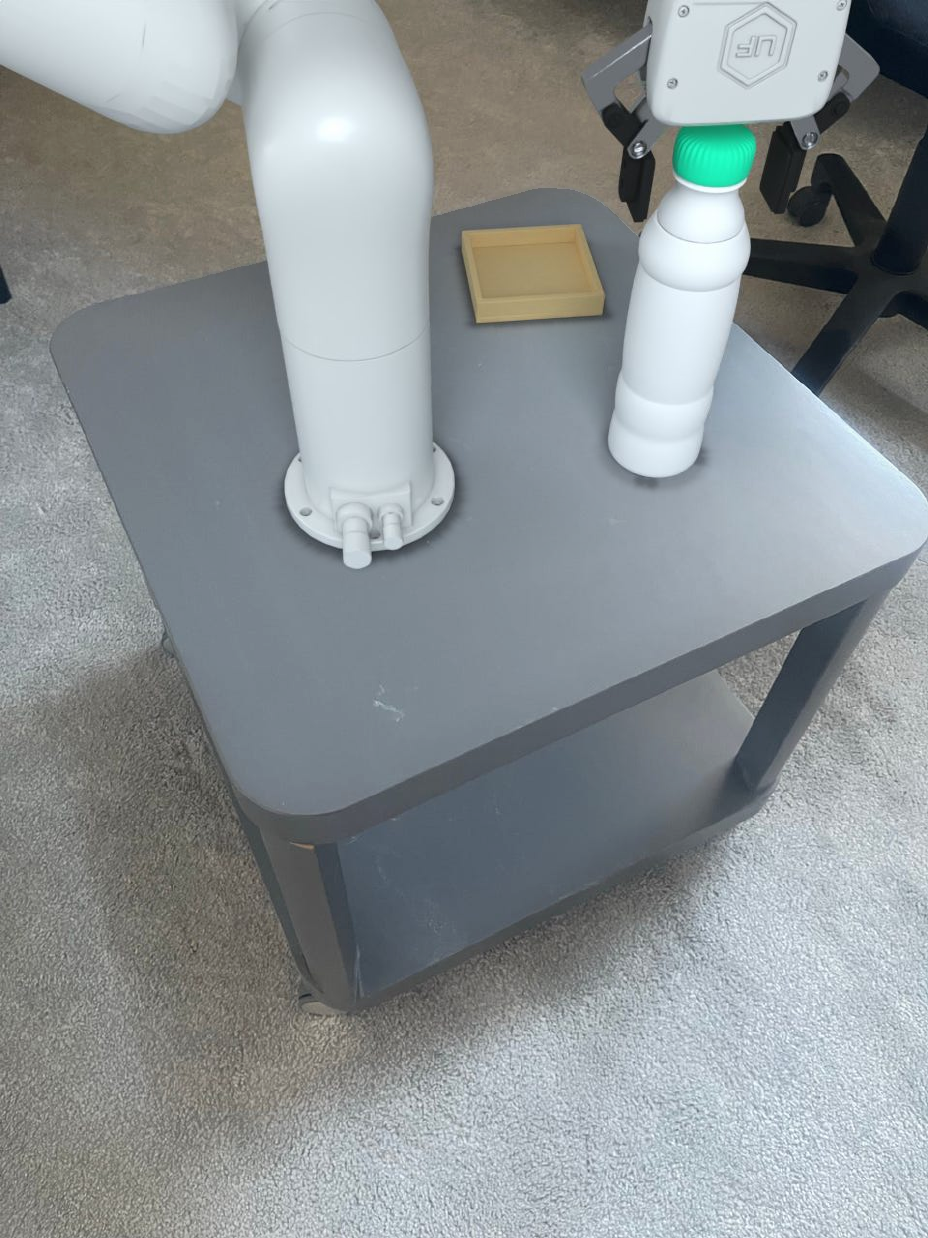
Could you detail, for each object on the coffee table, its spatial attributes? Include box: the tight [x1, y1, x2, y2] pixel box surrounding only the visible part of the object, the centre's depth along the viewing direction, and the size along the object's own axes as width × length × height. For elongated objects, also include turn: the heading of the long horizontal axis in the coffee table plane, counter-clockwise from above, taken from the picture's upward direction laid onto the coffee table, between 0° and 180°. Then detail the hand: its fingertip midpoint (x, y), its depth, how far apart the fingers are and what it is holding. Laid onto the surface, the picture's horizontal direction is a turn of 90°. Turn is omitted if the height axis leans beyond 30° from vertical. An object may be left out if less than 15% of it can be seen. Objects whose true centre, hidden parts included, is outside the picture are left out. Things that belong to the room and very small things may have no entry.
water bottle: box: [607, 124, 757, 479], centre depth 68 cm, size 7×7×25 cm
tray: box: [461, 223, 606, 324], centre depth 91 cm, size 11×11×2 cm
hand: (703, 204), depth 62 cm, fingers open, 8 cm apart
